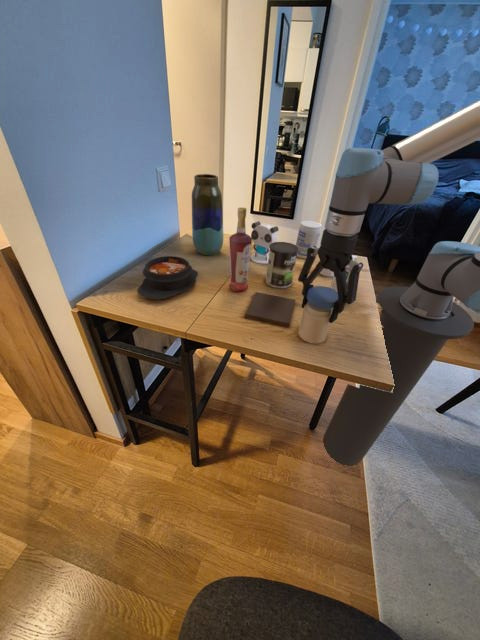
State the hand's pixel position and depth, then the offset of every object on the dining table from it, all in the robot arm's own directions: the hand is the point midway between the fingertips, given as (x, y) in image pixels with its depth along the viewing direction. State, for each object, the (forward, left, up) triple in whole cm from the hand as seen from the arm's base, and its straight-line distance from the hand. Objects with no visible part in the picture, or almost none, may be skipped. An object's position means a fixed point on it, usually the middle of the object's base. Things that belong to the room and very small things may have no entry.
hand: (318, 313), depth 72 cm
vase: (+51, -44, -8) cm, 68 cm away
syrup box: (-7, -27, -8) cm, 29 cm away
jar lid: (0, 0, +6) cm, 6 cm away
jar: (0, 0, -8) cm, 8 cm away
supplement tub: (+8, -58, -8) cm, 59 cm away
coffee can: (+15, -28, -8) cm, 33 cm away
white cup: (-3, -43, -8) cm, 44 cm away
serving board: (+14, -8, -8) cm, 18 cm away
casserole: (+52, -10, -8) cm, 54 cm away
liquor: (+28, -17, -8) cm, 34 cm away
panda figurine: (+26, -47, -8) cm, 54 cm away
